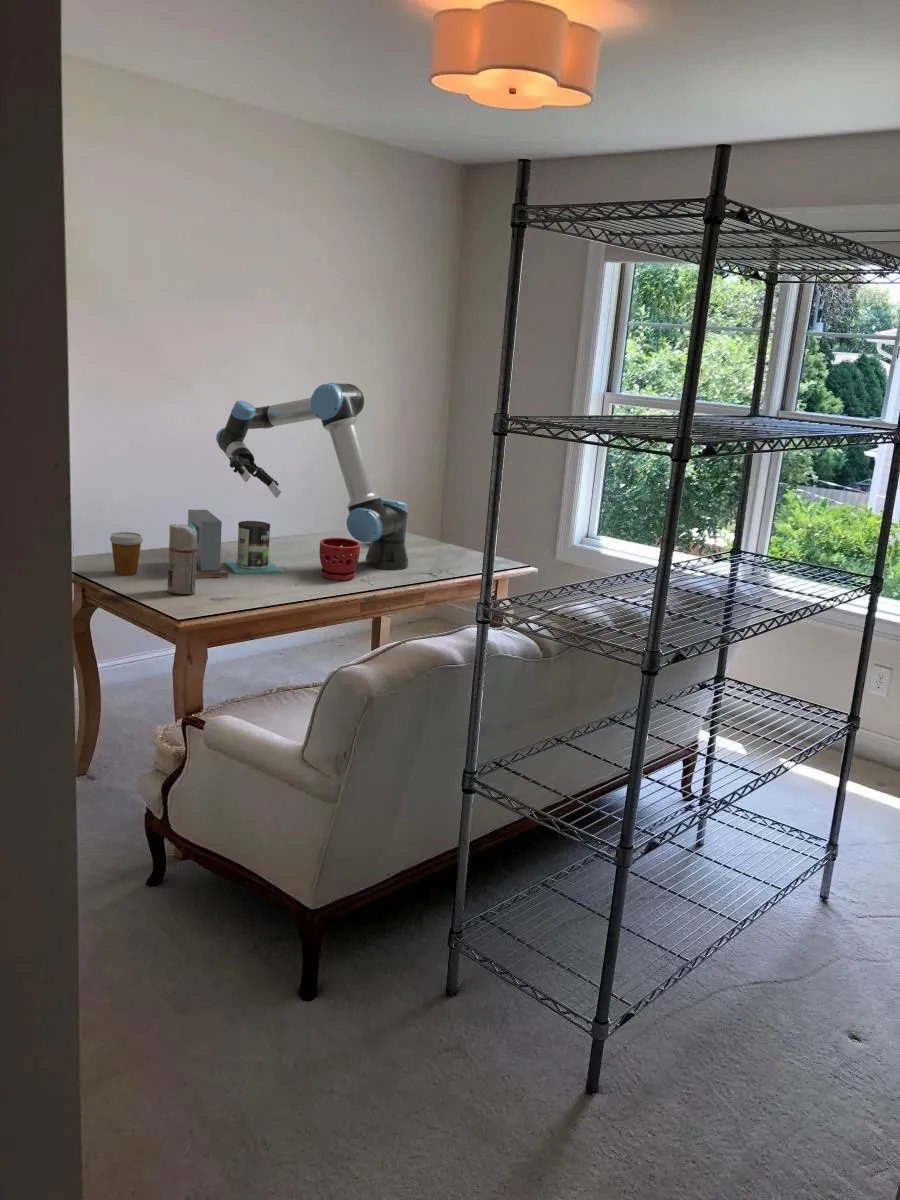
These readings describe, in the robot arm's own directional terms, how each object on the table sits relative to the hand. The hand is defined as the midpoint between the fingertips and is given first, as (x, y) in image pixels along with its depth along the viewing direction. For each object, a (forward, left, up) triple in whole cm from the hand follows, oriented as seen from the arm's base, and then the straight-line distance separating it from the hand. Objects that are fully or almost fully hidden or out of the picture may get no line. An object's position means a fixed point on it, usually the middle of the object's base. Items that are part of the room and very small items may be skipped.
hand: (263, 486), depth 330 cm
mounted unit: (+1, +24, -25) cm, 35 cm away
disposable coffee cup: (+10, +47, -26) cm, 55 cm away
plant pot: (-32, -4, -26) cm, 41 cm away
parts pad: (-7, +10, -25) cm, 28 cm away
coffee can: (-6, +10, -25) cm, 27 cm away
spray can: (-17, +49, -26) cm, 58 cm away
